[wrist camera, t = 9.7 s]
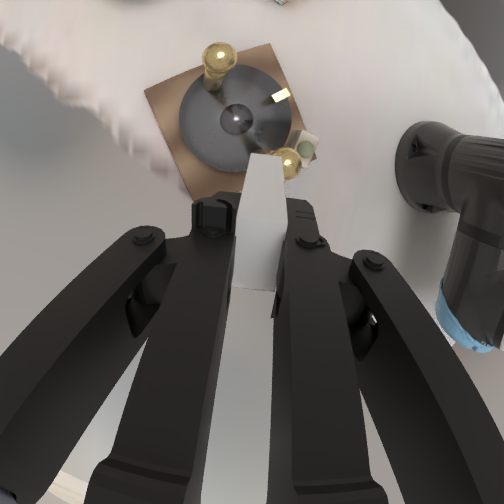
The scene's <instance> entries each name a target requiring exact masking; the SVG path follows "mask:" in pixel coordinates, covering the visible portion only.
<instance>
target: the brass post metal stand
mask: <svg viewBox="0 0 504 504" xmlns="http://www.w3.org/2000/svg"><path fill="white" fill-rule="evenodd" d="M202 63H203V65H204V67H205V73H204V74H202V75H201V76H200V77H198V78H197V79H196V80H195V81H194V82H193V83H192V84H191V85H190V87H189V88H188V90H187V91H186V93H185V95H184V97H183V99H182V102H181V105H180V110H179V127H180V131H181V135H182V137H183V140H184V142H185V144H186V145H187V147H188V148H189V150H190V151H191V152H192V153H193V154H194V155H195V156H196V157H197V158H198V159H199V160H200V161H202V162H203V163H205V164H206V165H208V166H210V167H213V168H215V169H218V170H222V171H227V172H244V171H247V168H248V164H249V160H250V155H251V153H256V154H265V155H273V156H281V157H282V163H283V173H284V180H285V181H286V180H291V179H293V178H295V177H296V176H297V175H298V174H299V173H300V171H301V169H302V160H301V157H300V155H299V154H298V153H297V152H296V151H295V150H294V149H292V148H288V147H283V146H284V144H285V143H286V140H287V138H288V136H289V133H290V129H291V120H292V116H291V108H290V103H289V101H288V98H287V97H288V96H290V94H289V92H288V90H287V89H286V88H285V89H282V87H281V86H280V85H279V84H278V83H277V81H276V80H274V79H273V78H272V77H271V76H270V75H268V74H267V73H265V72H263V71H261V70H259V69H257V68H254V67H251V66H247V65H239V64H236V63H237V53H236V51H235V49H234V48H233V47H232V46H231V45H229V44H227V43H223V42H217V43H213V44H211V45H209V46H208V47H207V48H206V49H205V50H204V52H203V55H202Z"/></svg>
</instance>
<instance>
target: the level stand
mask: <svg viewBox="0 0 504 504" xmlns="http://www.w3.org/2000/svg"><path fill="white" fill-rule="evenodd" d="M236 64H239V65H247V66H251V67H254V68H257V69H259V70H261V71H263V72H265V73H267V74H268V75H270V76H271V77H272V78H273V79H274V80H276V81H277V83H278V84H279V85H280V86H281V87H282V89H285V88H286V89H287V90H288V92H289V94H290V96H288V97H287V98H288V101H289V103H290V108H291V116H292V120H291V129H290V133H289V136H288V138H287V140H286V143H285V144H284V146H283V147H288V148H292V149H294V150H295V151H296V152H297V153H298V154H299V155H300V157H301V160H302V167H303V168H308V165H309V163H310V161H312V160H315V159H317V158H316V155H315V153H314V151H315V149H316V147H317V144H318V142H319V140H320V138H318V137H316V136H314V135H312V134H311V133H309V132H307V131H306V128H305V125H304V123H303V120H302V118H301V115H300V112H299V110H298V107H297V105H296V102H295V100H294V97H293V95H292V93H291V90H290V88H289V85H288V83H287V81H286V78H285V76H284V74H283V71H282V69H281V67H280V65H279V62H278V60H277V58H276V56H275V53H274V51H273V49H272V47H271V45H270V43H269V44H265V45H261V46H258V47H254V48H251V49H248V50H244V51H241V52H238V53H237V63H236ZM204 73H205V67H204V65H201V66H199V67H196V68H193V69H191V70H188V71H186V72H184V73H181V74H179V75H176V76H174V77H172V78H170V79H167V80H165V81H163V82H161V83H159V84H156V85H154V86H152V87H150V88H148V89H146V90H144V92H145V94H146V97H147V99H148V101H149V104H150V106H151V108H152V111H153V113H154V115H155V117H156V120H157V122H158V124H159V126H160V129H161V131H162V133H163V135H164V138H165V140H166V142H167V144H168V147H169V149H170V151H171V153H172V156H173V158H174V160H175V162H176V164H177V167H178V169H179V171H180V173H181V175H182V177H183V180H184V182H185V184H186V186H187V188H188V190H189V193H190V195H191V197H192V199H193V201H196V200H198V199H200V198H205V197H212V195H214V194H216V193H217V192H219V191H225V192H234V193H235V192H238V191H240V190H242V189H243V186H244V181H245V177H246V173H247V171H244V172H227V171H222V170H218V169H215V168H213V167H210V166H208V165H206V164H205V163H203V162H202V161H200V160H199V159H198V158H197V157H196V156H195V155H194V154H193V153H192V152H191V151H190V150H189V148H188V147H187V145H186V144H185V142H184V140H183V137H182V135H181V131H180V127H179V110H180V105H181V102H182V99H183V97H184V95H185V93H186V91H187V90H188V88H189V87H190V85H191V84H192V83H193V82H194V81H195V80H196V79H197V78H198V77H200V76H201V75H202V74H204Z"/></svg>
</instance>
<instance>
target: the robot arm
mask: <svg viewBox="0 0 504 504" xmlns="http://www.w3.org/2000/svg"><path fill="white" fill-rule="evenodd" d="M396 177H397V182H398V186H399V188H400V191H401V193H402V195H403V197H404V198H405V200H406V201H407V202H408V203H409V204H410V205H411V206H413V207H414V208H416V209H418V210H421V211H423V212H426V213H431V214H437V213H449V212H457V213H460V218H459V223H458V227H457V231H456V235H455V239H454V243H453V246H452V250H451V253H450V257H449V260H448V264H447V267H446V270H445V273H444V276H443V278H442V279H441V282H440V291H439V294H438V297H437V301H436V305H435V311H436V315H437V319H438V321H439V323H440V325H441V327H442V328H443V329H444V331H445V332H446V333H447V334H448V335H449V336H450V337H451V338H452V339H453V340H454V341H456V342H457V343H458V344H460V345H461V346H463V347H465V348H467V349H470V348H472V349H473V350H474V351H475V352H479V353H484V352H489V351H491V350H492V349H493V348H495V347H496V348H498V349H499V350H501V351H504V139H497V138H490V137H481V136H472V135H463V134H462V133H460V132H458V131H456V130H454V129H452V128H450V127H448V126H446V125H444V124H442V123H439V122H433V121H423V122H419V123H416V124H414V125H413V126H411V127H410V128H409V129H408V130H407V131H406V133H405V134H404V136H403V137H402V139H401V141H400V144H399V147H398V150H397V155H396ZM315 219H316V218H315V215H314V210H313V207H312V206H311V205H310V204H309V203H308V202H307V201H306V200H300V199H293V198H286V195H285V184H284V173H283V163H282V157H281V156H273V155H265V154H256V153H251V155H250V160H249V164H248V168H247V173H246V177H245V181H244V186H243V190H242V193H234V192H225V191H219V192H217V193H216V194H214V195H212V197H205V198H200V199H198V200H196V201H194V202H193V203H192V230H191V232H190V234H189V235H188V236H185V237H180V238H170V239H165V233H164V232H163V231H162V229H160V228H157V227H154V226H139V227H136V228H133V229H131V230H129V231H128V232H126V233H125V234H124V235H122V236H121V237H120V238H119V239H118V240H117V241H115V242H114V243H113V244H112V245H111V246H110V247H109V248H108V249H106V250H105V251H104V252H103V253H102V254H101V255H100V256H98V257H97V258H96V259H95V260H94V261H93V262H92V263H91V264H90V265H88V266H87V267H86V268H85V269H84V270H83V271H82V272H81V273H80V274H79V275H78V276H77V277H76V278H75V279H73V280H72V282H70V283H69V284H68V285H67V286H66V287H65V288H64V289H63V290H62V291H61V292H60V293H59V294H58V295H57V296H56V297H55V298H54V299H53V300H52V301H51V302H50V303H49V304H48V305H47V306H46V307H45V308H44V309H43V310H42V311H41V312H40V313H39V314H38V315H37V316H36V317H35V318H34V319H33V321H32V322H31V323H30V324H29V325H28V326H27V327H26V328H25V329H24V330H23V331H22V332H21V333H20V335H19V336H18V337H17V338H16V339H15V340H14V341H13V342H12V344H11V345H10V346H9V347H8V348H7V349H6V350H5V351H4V353H3V354H2V355H1V356H0V504H36V502H37V501H38V500H39V499H40V498H41V497H42V496H43V495H44V494H45V492H46V491H47V489H48V488H49V486H50V485H51V484H52V482H53V481H54V479H55V477H56V476H57V474H58V472H59V471H60V469H61V467H62V466H63V464H64V463H65V461H66V459H67V458H68V456H69V455H70V453H71V452H72V450H73V448H74V447H75V445H76V444H77V442H78V441H79V439H80V437H81V436H82V434H83V433H84V431H85V430H86V428H87V426H88V425H89V424H90V422H91V420H92V419H93V417H94V416H95V414H96V413H97V411H98V410H99V408H100V407H101V405H102V404H103V402H104V401H105V399H106V398H107V396H108V395H109V393H110V392H111V390H112V389H113V387H114V386H115V384H116V383H117V381H118V380H119V378H120V377H121V376H122V374H123V373H124V371H125V370H126V368H127V367H128V365H129V364H130V362H131V361H132V360H133V358H134V357H135V355H136V354H137V352H138V351H139V350H140V348H141V347H142V345H143V344H144V342H145V341H146V340H147V338H148V340H147V342H146V345H145V348H144V351H143V354H142V357H141V359H140V362H139V365H138V368H137V371H136V374H135V377H134V380H133V383H132V386H131V389H130V392H129V395H128V398H127V401H126V405H125V408H124V411H123V414H122V418H121V421H120V424H119V427H118V431H117V434H116V438H115V441H114V445H113V448H112V451H111V453H110V454H109V456H108V457H107V458H106V459H104V460H102V461H101V462H99V463H98V465H97V466H96V468H95V469H94V471H93V473H92V475H91V478H90V481H89V484H88V488H87V492H86V496H85V500H84V504H201V503H200V502H201V490H202V482H203V475H204V467H205V461H206V453H207V446H208V439H209V433H210V426H211V419H212V412H213V406H214V399H215V391H216V386H217V378H218V372H219V366H220V359H221V353H222V347H223V340H224V334H225V328H226V321H227V315H228V308H229V303H230V294H231V287H236V288H245V289H254V290H263V291H272V292H275V287H276V295H275V300H274V305H273V310H272V314H271V318H274V328H273V330H274V331H273V371H272V403H271V429H270V452H269V472H268V491H267V503H266V504H389V503H388V498H387V494H386V493H385V491H384V489H383V487H382V486H381V485H379V484H378V483H377V482H375V481H374V480H373V478H372V476H371V473H370V467H369V457H368V448H367V439H366V431H365V423H364V416H363V409H362V403H361V396H360V391H361V393H362V395H363V397H364V400H365V402H366V405H367V407H368V409H369V412H370V414H371V417H372V419H373V422H374V424H375V426H376V429H377V431H378V434H379V436H380V439H381V441H382V444H383V446H384V449H385V451H386V454H387V457H388V459H389V462H390V464H391V467H392V470H393V472H394V475H395V477H396V480H397V483H398V485H399V488H400V491H401V493H402V496H403V499H404V502H405V504H504V440H503V438H502V436H501V434H500V432H499V430H498V428H497V426H496V424H495V422H494V420H493V418H492V416H491V414H490V413H489V411H488V409H487V407H486V405H485V403H484V401H483V399H482V397H481V396H480V394H479V392H478V390H477V388H476V387H475V385H474V384H473V381H472V380H471V378H470V376H469V375H468V373H467V372H466V370H465V368H464V366H463V365H462V363H461V361H460V360H459V358H458V357H457V355H456V353H455V352H454V350H453V349H452V347H451V346H450V344H449V342H448V341H447V339H446V338H445V336H444V335H443V333H442V332H441V330H440V329H439V327H438V326H437V324H436V323H435V321H434V320H433V319H432V317H431V316H430V314H429V313H428V311H427V310H426V309H425V307H424V306H423V304H422V303H421V302H420V300H419V299H418V297H417V296H416V295H415V293H414V292H413V291H412V289H411V288H410V286H409V285H408V284H407V282H406V281H405V280H404V278H403V277H402V276H401V275H400V273H399V272H398V271H397V269H396V268H395V267H394V265H393V264H392V263H391V262H390V261H389V260H388V259H387V258H386V257H385V256H383V255H381V254H380V253H378V252H375V251H372V250H361V251H357V252H356V253H355V254H354V256H353V259H349V258H346V257H343V256H340V255H337V254H335V253H333V252H331V250H330V247H329V244H328V242H327V240H326V239H325V238H323V237H322V236H321V235H319V231H318V226H317V222H316V220H315ZM372 315H374V317H375V319H376V321H377V323H375V321H374V320H373V318H372ZM359 388H360V390H359Z"/></svg>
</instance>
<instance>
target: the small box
mask: <svg viewBox="0 0 504 504" xmlns="http://www.w3.org/2000/svg"><path fill="white" fill-rule="evenodd" d="M275 1H277V2H278V3H279V4H280V5H283V4H284V3H286V2H287V1H288V0H275Z"/></svg>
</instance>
